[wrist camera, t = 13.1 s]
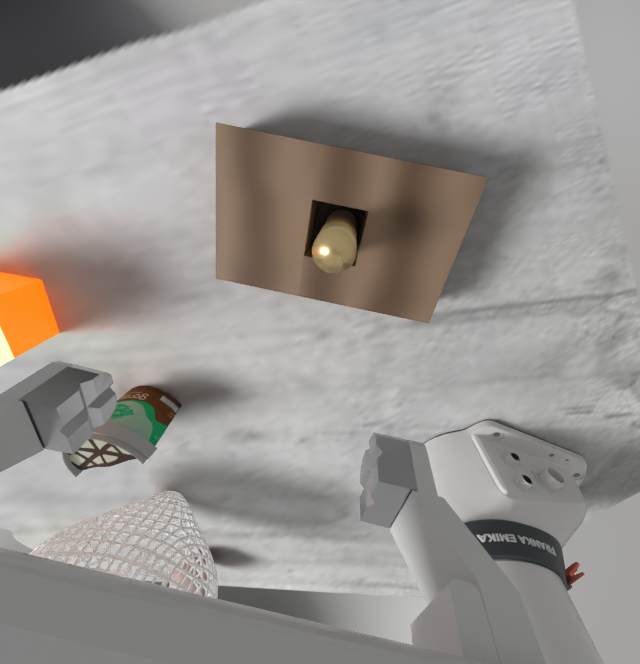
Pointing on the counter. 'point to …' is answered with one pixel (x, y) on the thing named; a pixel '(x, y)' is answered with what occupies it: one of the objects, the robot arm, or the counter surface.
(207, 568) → the heart
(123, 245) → the counter surface
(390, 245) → the hole block
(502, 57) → the counter surface
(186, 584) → the decorative fruit
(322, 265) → the peg
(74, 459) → the food container
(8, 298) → the orange juice
